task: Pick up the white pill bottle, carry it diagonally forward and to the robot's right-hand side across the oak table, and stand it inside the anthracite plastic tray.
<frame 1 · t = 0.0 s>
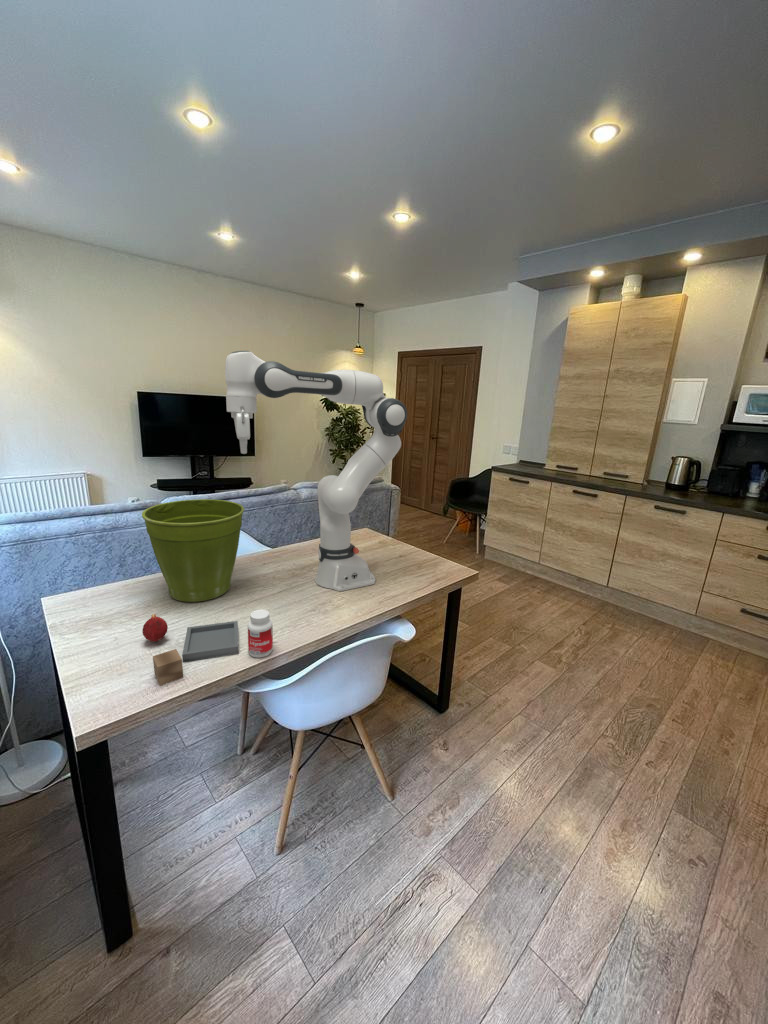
hand: (243, 451, 125), 48 cm above the table, fingers open, 8 cm apart
tray: (212, 643, 106), on the table
plant pot: (200, 591, 135), on the table
onion: (156, 642, 106), on the table
pill bottle: (260, 652, 104), on the table
walnut block: (169, 676, 93), on the table
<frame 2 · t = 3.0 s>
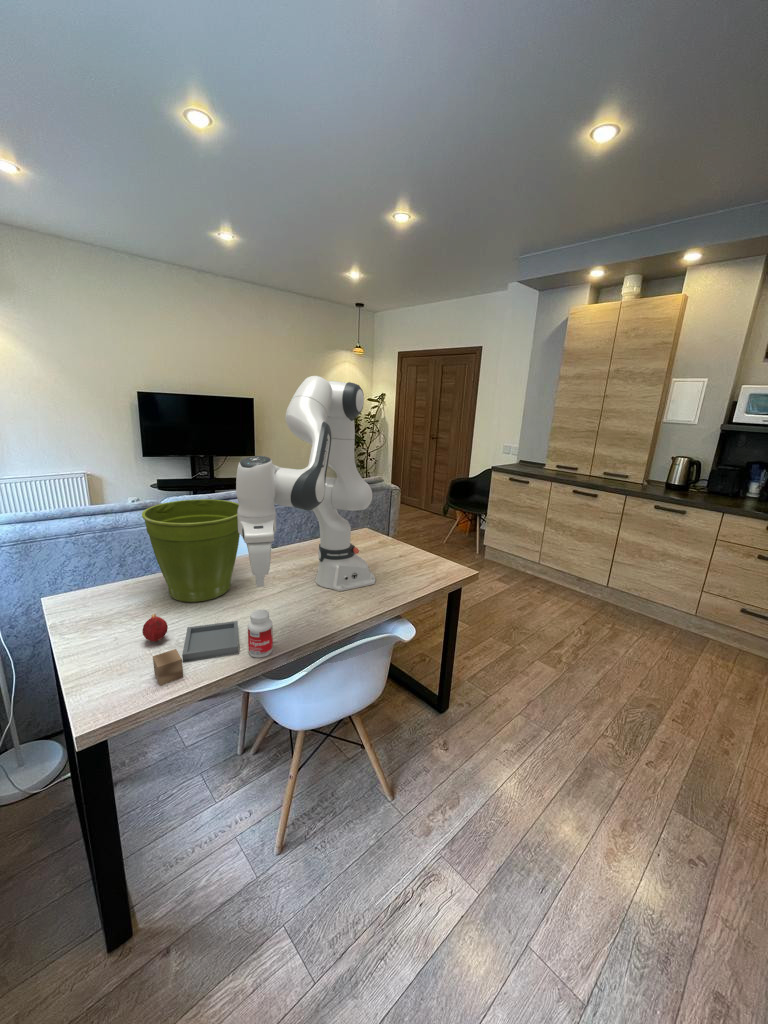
hand: (258, 577, 99), 21 cm above the table, fingers open, 8 cm apart
nothing on the table moved.
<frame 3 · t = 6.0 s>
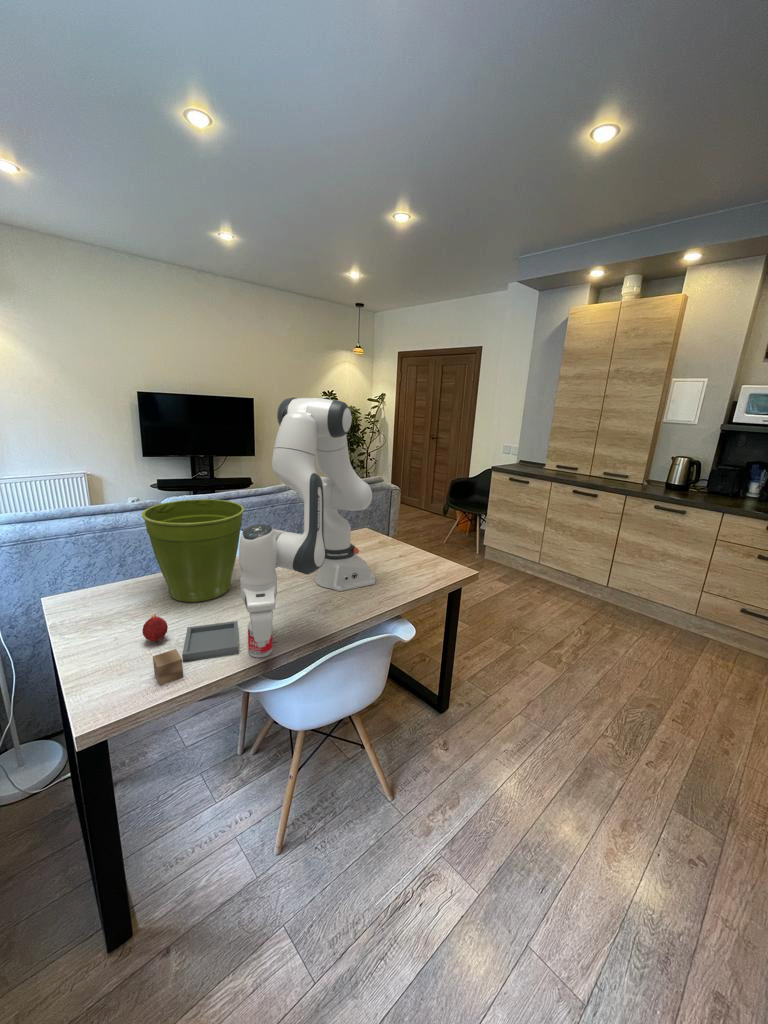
hand: (260, 637, 103), 4 cm above the table, fingers closed on pill bottle, 6 cm apart
pill bottle: (260, 652, 104), on the table, touching gripper
everything else where it was.
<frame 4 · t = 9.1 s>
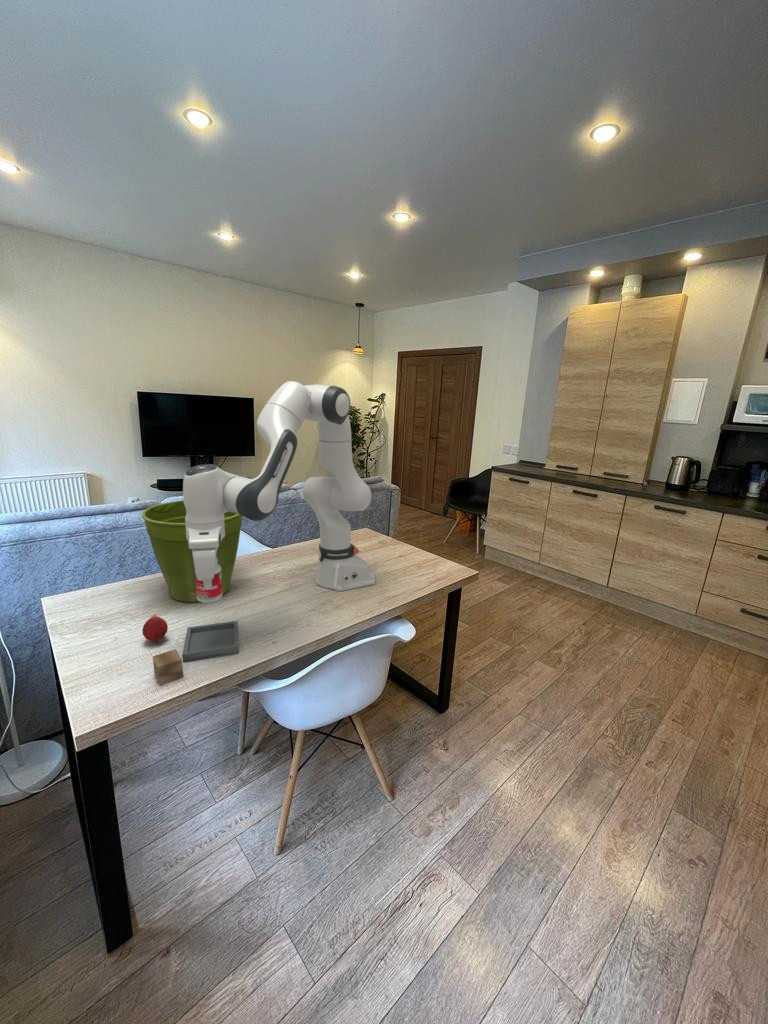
hand: (209, 581, 101), 18 cm above the table, fingers closed on pill bottle, 6 cm apart
pill bottle: (209, 598, 103), point 13 cm above the table, touching gripper
everything else where it was.
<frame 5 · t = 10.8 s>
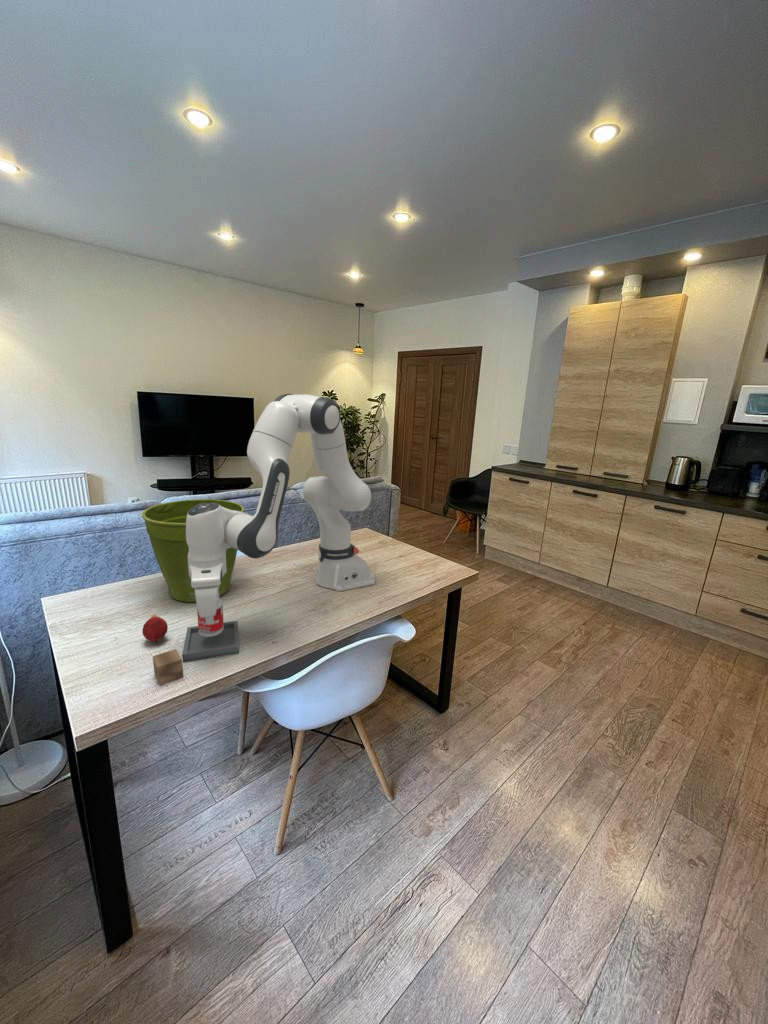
hand: (210, 615, 104), 8 cm above the table, fingers closed on pill bottle, 6 cm apart
pill bottle: (211, 631, 105), point 4 cm above the table, touching gripper
everything else where it was.
when the fingers open (6 cm above the table, at t = 12.3 s): pill bottle stays where it is, resting on tray.
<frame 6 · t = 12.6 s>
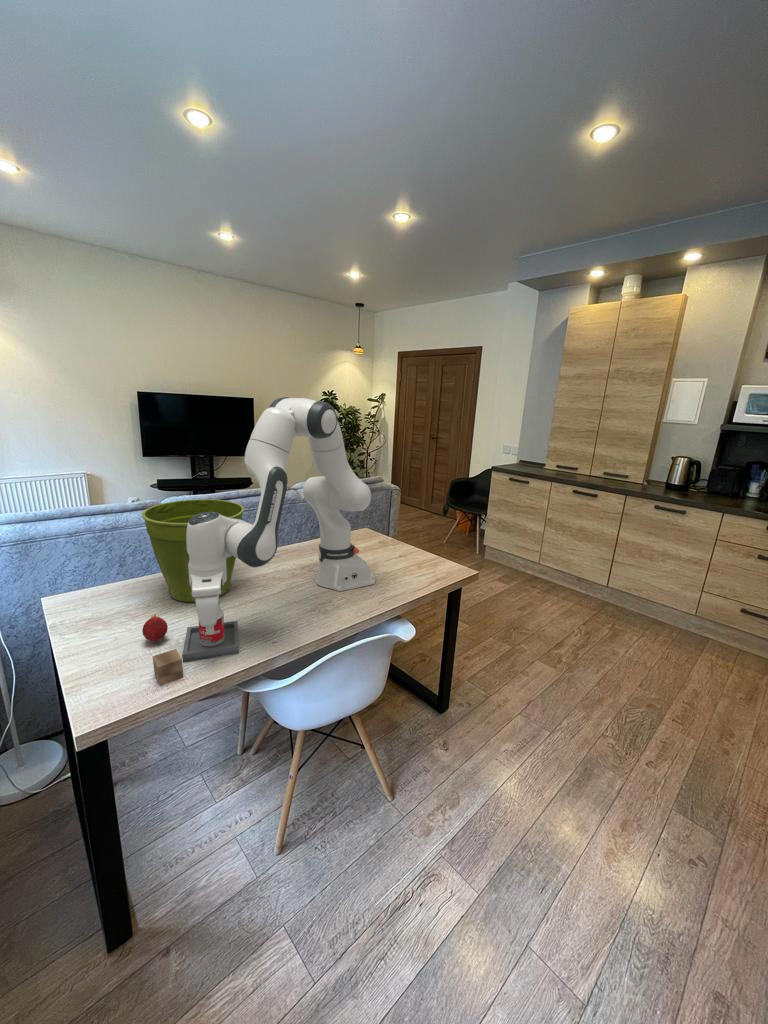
hand: (211, 623, 104), 6 cm above the table, fingers open, 8 cm apart
pill bottle: (212, 641, 106), point 1 cm above the table, touching tray
everything else where it was.
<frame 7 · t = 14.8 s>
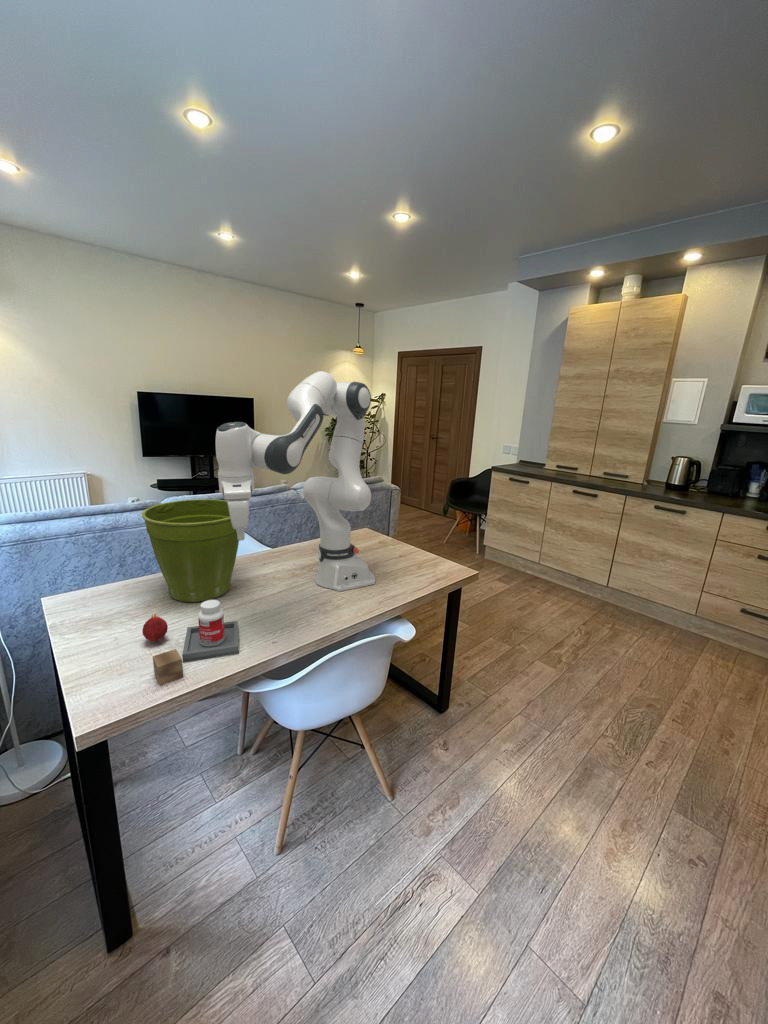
hand: (240, 533, 109), 28 cm above the table, fingers open, 8 cm apart
nothing on the table moved.
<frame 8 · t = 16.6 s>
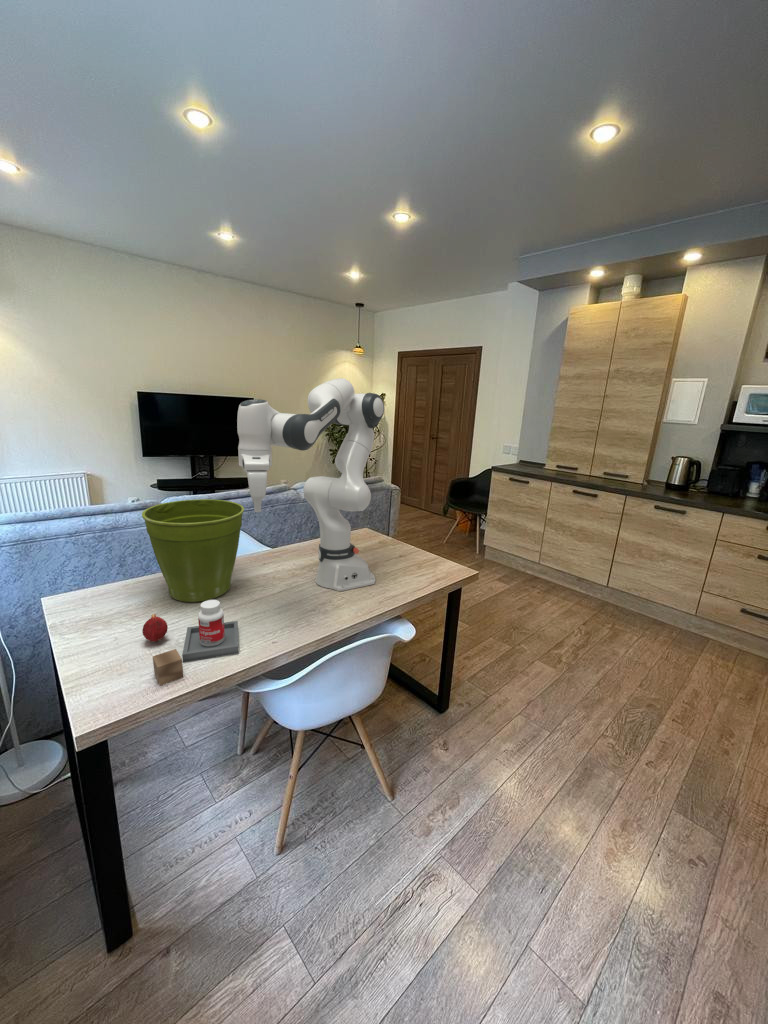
hand: (256, 507, 114), 34 cm above the table, fingers open, 8 cm apart
nothing on the table moved.
at the end: pill bottle inside the target area on the tray (0.1 cm from its centre), point 0.6 cm above the tray's base; the gripper is holding nothing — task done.
